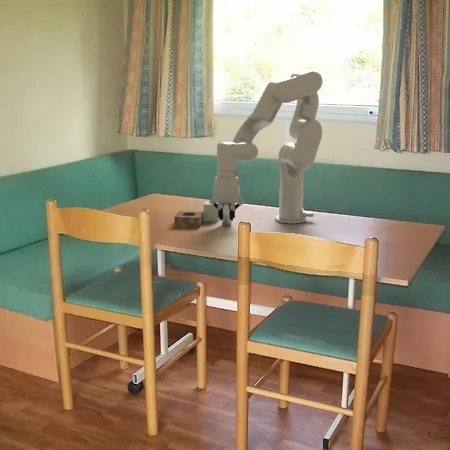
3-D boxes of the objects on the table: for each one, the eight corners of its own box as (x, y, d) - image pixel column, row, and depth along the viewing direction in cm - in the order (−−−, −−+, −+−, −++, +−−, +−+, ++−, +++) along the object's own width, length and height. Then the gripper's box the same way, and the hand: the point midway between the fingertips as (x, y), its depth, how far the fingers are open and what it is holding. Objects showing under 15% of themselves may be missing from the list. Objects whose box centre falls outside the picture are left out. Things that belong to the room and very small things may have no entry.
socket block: (203, 221, 258) (203, 211, 257) (199, 227, 248) (199, 217, 247) (179, 220, 259) (179, 210, 258) (174, 226, 249) (174, 216, 248)
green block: (220, 217, 264) (220, 201, 262) (218, 221, 258) (218, 204, 256) (205, 217, 264) (205, 201, 262) (203, 221, 258) (203, 204, 257)
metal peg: (231, 224, 253) (231, 202, 251) (230, 226, 250) (230, 204, 247) (222, 224, 254) (222, 202, 251) (221, 226, 250) (221, 204, 248)
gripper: (248, 172, 249) (248, 218, 254) (206, 171, 251) (207, 216, 255) (247, 176, 242) (246, 222, 246) (203, 175, 244) (204, 221, 248)
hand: (226, 219), depth 251 cm, fingers closed on metal peg, 3 cm apart
